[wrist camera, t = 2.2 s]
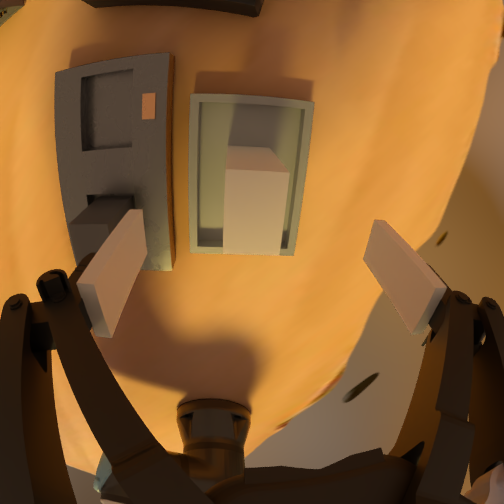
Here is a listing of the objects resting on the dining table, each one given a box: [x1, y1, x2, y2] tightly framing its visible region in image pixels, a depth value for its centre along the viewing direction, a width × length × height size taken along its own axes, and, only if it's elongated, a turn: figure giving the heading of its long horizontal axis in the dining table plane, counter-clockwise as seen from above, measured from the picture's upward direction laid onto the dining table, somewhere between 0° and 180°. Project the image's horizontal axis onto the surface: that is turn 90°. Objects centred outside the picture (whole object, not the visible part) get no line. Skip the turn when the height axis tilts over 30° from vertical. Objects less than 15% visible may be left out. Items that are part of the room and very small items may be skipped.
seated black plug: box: [68, 196, 134, 264], centre depth 25 cm, size 6×4×7 cm, turn 176°
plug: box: [223, 145, 290, 255], centre depth 23 cm, size 6×4×10 cm, turn 176°
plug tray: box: [188, 94, 314, 256], centre depth 27 cm, size 16×11×2 cm
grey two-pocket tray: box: [55, 52, 176, 271], centre depth 25 cm, size 22×12×3 cm, turn 176°
